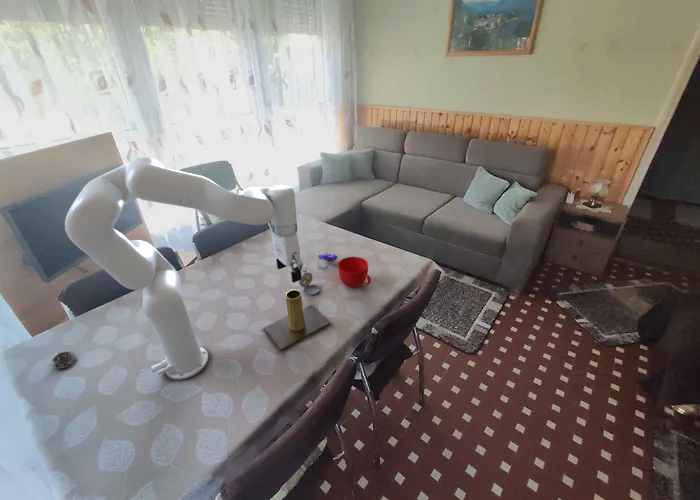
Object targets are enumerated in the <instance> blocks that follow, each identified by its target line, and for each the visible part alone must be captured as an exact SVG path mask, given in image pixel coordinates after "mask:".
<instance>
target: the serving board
mask: <svg viewBox="0 0 700 500" xmlns="http://www.w3.org/2000/svg"><path fill="white" fill-rule="evenodd" d="M303 314H304V320H305V327H304V328H303V329H301V330H299V331H293V330H291V329H289V327H288V325H289V323H288V315H287V316H285V317H283V318H281V319H279V320H277V321H275V322H273V323H271V324H268V325H266V326H265V327H263V330H264V332H265V333H266V334H267V335H268V336H269V338H270V339H271V340H272V341H273V343H274V344H275V345H276V347H277V348H278V349H279V350H280V351H281V352H282V351H285V350H286V349H288V348H290V347H292V346H293V345H296V344H297V343H299V342H301V341H303V340H305V339H306V338H308V337H311V336H312V335H314V334H316V333H318V332H319V331H321V330H323V329H325V328H327V327H329V326H330V322H329V320H327V319H326V318H325V317H324V316H323V315H322V314H321V313H320V312H318V310H316V309H315V308H314V307H313V306H312V305H310V304H309V305H308V306H306V307H304V308H303Z"/></svg>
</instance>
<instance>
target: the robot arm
mask: <svg viewBox="0 0 700 500" xmlns="http://www.w3.org/2000/svg"><path fill="white" fill-rule="evenodd" d="M137 199H140V200H143V201H146V202H147V201H148V202H153V203H159V204H165V205H170V206H177V207H184V208H188V209H195V210H199V211H201V212H203V213H206V214H207V215H208V214H209V215H211V216H215V217H217V218H219V219H223V220H226V221H229V222H233V223H238V224H244V225H252V226H262V225H263V226H264V225H266V224H268V223H269V222H270V223H271V224H270V225H271V242H272V252H273V256H274V258H276V268H277V270H281V269H284V268H287V267H290V269H291V271H290V275H291V282H292V284H294V283H297V282H299V280H301V279H302V278H301V276H302V270H303V267H304V263H303V260H302V259H301V250H300V244H299V237H298V221H297V208H296V194H295V189H294V188H293V187H291V186H289V185H283V184H280V185H275V186H272V187H259V186H258V187H256V186H253V187H248V188H245V189H243V190H242V191H241V192H240V193H237V192H234V191H231V190H228V189H226V188H224V187H222V186H220V185H219V184H217V183H216V182H214V181H213V180H211V179H210V178H207V177H205V176H203V175H199V174H195V173H189V172H186V171H185V172H184V171H180V170H175V169H172V168H167V167H165V166H164V165H163V164H162V163H161V162H160V161H159V160H157V159H155V158H152V157H147V156H146V157H144V156H143V157H142V156H141V157H138V158H135V159H132V160H131V161H128V162H127V163H125V164H122V165H121V166H118V167H116V168H114V169H111V170H110V171H108V172H105V173H103V174H101V175H99V176H97V177H94V178H93V179H91V180H89V181H88V182H87V183H85V185H84V186H83V187H82V189H81V191H80V192H79V193H78V195H77V196H76V198H75V199H74V201H73V203H72V204H71V206H70V207H69V209H68V211H67V213H66V216H65V219H64V230H65V233H66V235H67V237H68V239H69V240H70V241H71V242H72V243H73V244H74V245H75V247H77V248H78V249H79V250H81V251H82V252H83V253H84V254H86V255H87V256H88V257H89V258H90V259H91V260H93V261H94V262H95V263H96V264H97V266H99V267H100V268H101V269H103V270H104V271H105V272H106V273H107V274H108V275H109V276H110V277H112V278H113V279H114V280H115V281H116V282H117V283H118V284H120V285H121V286H122V287H124V288H127V289H128V290H133V291H139V290H142V289H143V290H142V308H143V312H144V314H145V316H146V318H147V319H148V320H149V322H150V324H151V326H152V328H153V331H154V333H155V335H156V337H157V340H158V342H159V345H160V347H161V349H162V352H163V354H164V356H163V357H164V360H161V362H158V363H156V364H153V365H152V366H150V368H151V371H152V373H156V372H157V374H158V376H161V375H162V374H164V373H165V374H166V376H167V377H168V378H170V379H172V380H178V381H179V380H185V379H188V378H192V377H193V376H195V375H197V374H198V373H200V372H201V371H202V370H203V369H204V368H205V367H206V365H207V364H208V361H209V354H208V352H207V349H205V348H204V347H202V346H200V344H199V341H198V339H197V334H196V332H195V329H194V327H193V326H194V325H193V323H192V320H191V317H190V314H189V312H188V309H187V307H186V304H185V301H184V296H183V288H182V280H181V276H180V274H179V272H178V271H177V269H176V268H175V267H174V266H173V265H172V264H171V263H170V262H169V261H168V260H167V259H166V257H164V256H163V254H161V252H159V250H157V249H156V248H155V246H153V245H152V244H150V243H149V242H147V241H144V240H140V239H132V240H131V239H130V240H129V239H128V238H127V237H126V236H125V235H124V234H123V233H121V232H120V231H119V230H117V229H115V227H114V226H115V223H116V221H117V220H118V219H119V218H120V216H121V213H122V210H123V208H124V206H125V205H127V204H128V203H130V202H133V201H134V200H137ZM295 264H296V266H295V267H294V265H295Z"/></svg>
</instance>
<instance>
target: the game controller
mask: <svg viewBox="0 0 700 500" xmlns="http://www.w3.org/2000/svg"><path fill="white" fill-rule="evenodd" d="M322 250H324V251H325V249H324V248H323V249H321V251H322ZM321 251H319V253H318V257H317V258H318V260H322V261H326V262H327V263H329V264H331V265H333V266H334V264H333V263H335V262H336V261H337V259H338V255H336V253H327V252H323V253H321V254H320V252H321ZM330 262H333V263H330ZM317 265H318V266H320V265H319V262H317ZM328 267H329V266H328V265H326V266H325V267H321V269H327V268H328ZM336 267H337V268H338V263H336Z"/></svg>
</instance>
